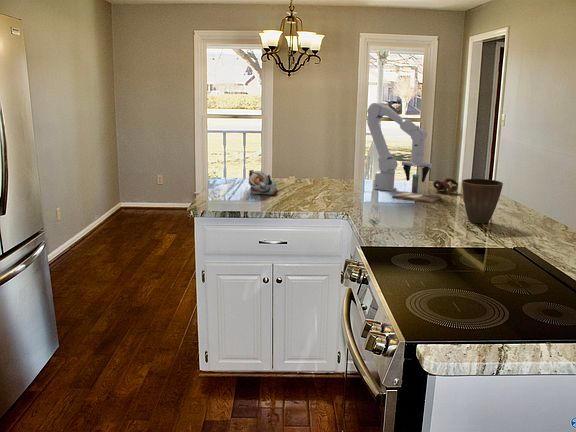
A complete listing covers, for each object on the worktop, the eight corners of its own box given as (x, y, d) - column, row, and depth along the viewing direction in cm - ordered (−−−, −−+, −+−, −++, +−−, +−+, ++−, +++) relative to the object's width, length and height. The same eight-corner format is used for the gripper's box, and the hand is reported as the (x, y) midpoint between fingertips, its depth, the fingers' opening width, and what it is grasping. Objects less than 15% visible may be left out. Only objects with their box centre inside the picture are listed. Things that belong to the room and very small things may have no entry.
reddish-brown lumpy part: (450, 191, 278) (458, 179, 273) (453, 202, 271) (461, 190, 265) (429, 185, 277) (436, 172, 271) (431, 196, 269) (438, 183, 264)
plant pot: (472, 227, 203) (477, 185, 199) (450, 218, 217) (454, 179, 213) (506, 225, 207) (511, 184, 203) (483, 216, 221) (487, 178, 217)
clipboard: (392, 198, 255) (392, 195, 254) (402, 193, 266) (402, 190, 266) (432, 203, 245) (432, 200, 245) (440, 198, 257) (440, 195, 257)
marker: (410, 193, 268) (411, 174, 266) (412, 192, 270) (413, 174, 268) (416, 193, 266) (417, 175, 264) (418, 192, 269) (419, 174, 267)
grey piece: (283, 194, 256) (276, 171, 247) (260, 206, 253) (253, 182, 244) (268, 181, 267) (262, 158, 258) (247, 191, 264) (240, 168, 255)
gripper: (400, 153, 264) (398, 180, 267) (429, 155, 257) (427, 183, 260) (405, 152, 270) (403, 178, 273) (433, 154, 263) (431, 181, 266)
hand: (415, 181), depth 267 cm, fingers open, 7 cm apart
